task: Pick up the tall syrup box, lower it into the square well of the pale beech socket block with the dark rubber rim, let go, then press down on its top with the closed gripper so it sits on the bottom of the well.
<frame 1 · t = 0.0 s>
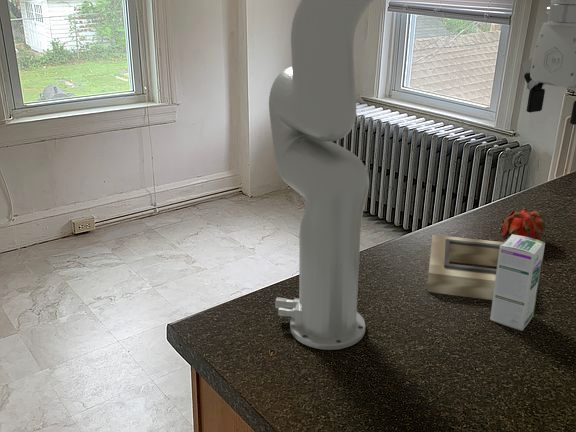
hand: (555, 117, 105), 31 cm above the counter, tool pointing down, fingers open, 9 cm apart
syrup box: (510, 319, 102), on the counter
dragon fruit: (519, 245, 129), on the counter
socket block: (473, 275, 116), on the counter
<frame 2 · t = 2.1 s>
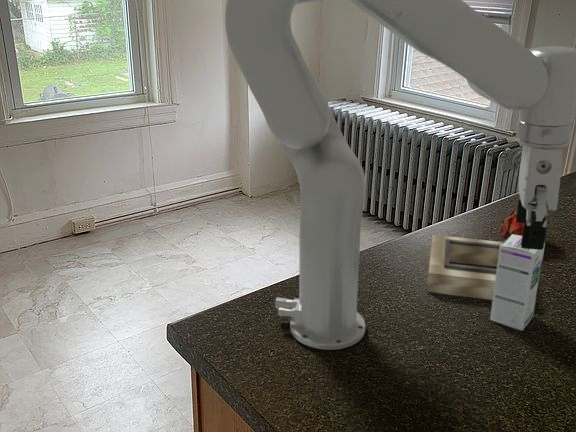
hand: (528, 234, 96), 16 cm above the counter, tool pointing down, fingers open, 9 cm apart
nothing on the counter moved.
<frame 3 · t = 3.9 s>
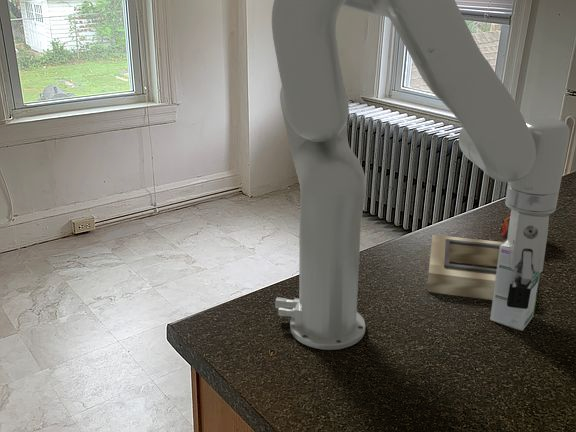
hand: (515, 294, 100), 5 cm above the counter, tool pointing down, fingers closed on syrup box, 7 cm apart
syrup box: (510, 319, 102), on the counter, touching gripper
everything else where it was.
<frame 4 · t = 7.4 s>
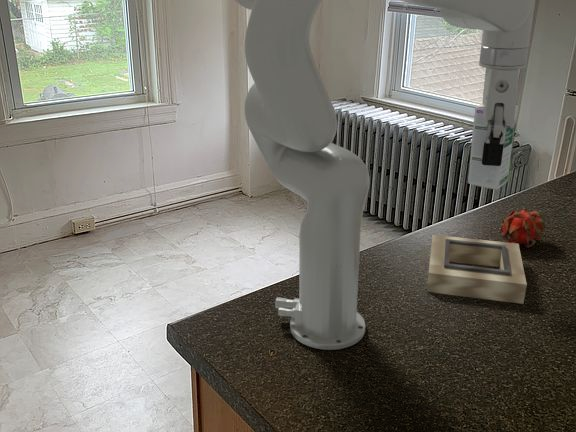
hand: (490, 157, 107), 24 cm above the counter, tool pointing down, fingers closed on syrup box, 7 cm apart
syrup box: (487, 183, 109), point 19 cm above the counter, touching gripper
everything else where it was.
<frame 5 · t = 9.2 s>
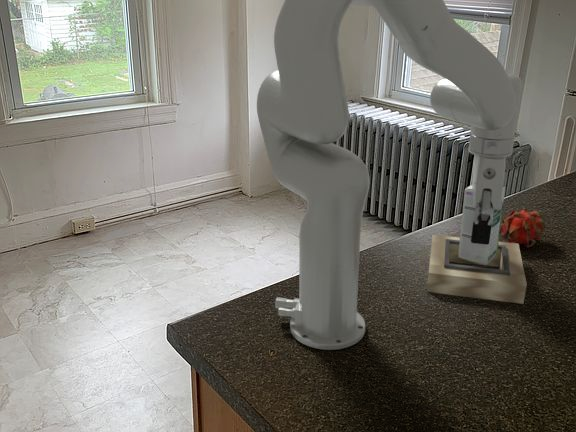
hand: (479, 233, 113), 9 cm above the counter, tool pointing down, fingers closed on syrup box, 7 cm apart
syrup box: (476, 257, 115), point 4 cm above the counter, touching gripper
everything else where it was.
when the fingers open (6 cm above the counter, at t = 10.7 s): syrup box drops 1 cm, resting in socket block.
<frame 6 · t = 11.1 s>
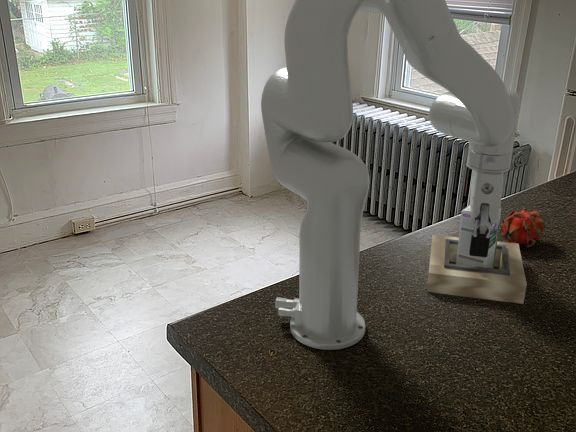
hand: (477, 244, 113), 7 cm above the counter, tool pointing down, fingers open, 9 cm apart
syrup box: (473, 277, 116), resting in socket block
everything else where it was.
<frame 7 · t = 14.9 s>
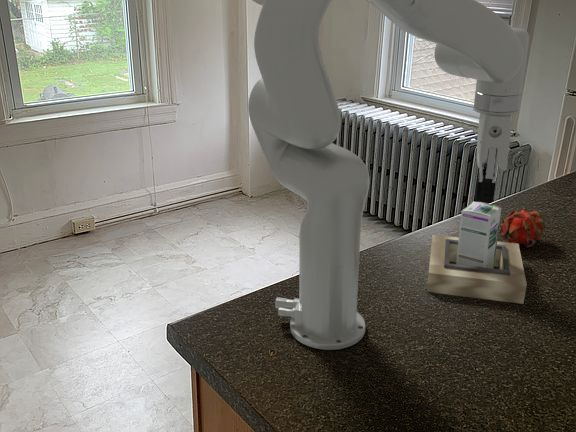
hand: (483, 200, 110), 16 cm above the counter, tool pointing down, fingers closed
nothing on the counter moved.
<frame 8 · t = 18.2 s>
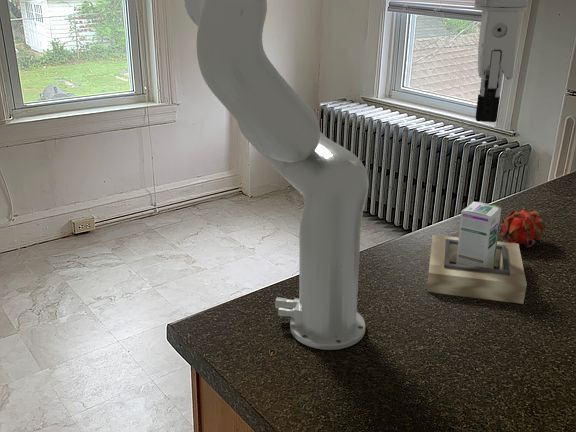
hand: (485, 120, 96), 33 cm above the counter, tool pointing down, fingers closed
nothing on the counter moved.
at the end: syrup box 0.2 cm off-centre on the socket block, point 0.0 cm above the socket block's base; syrup box tilted 0°; the gripper is holding nothing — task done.
